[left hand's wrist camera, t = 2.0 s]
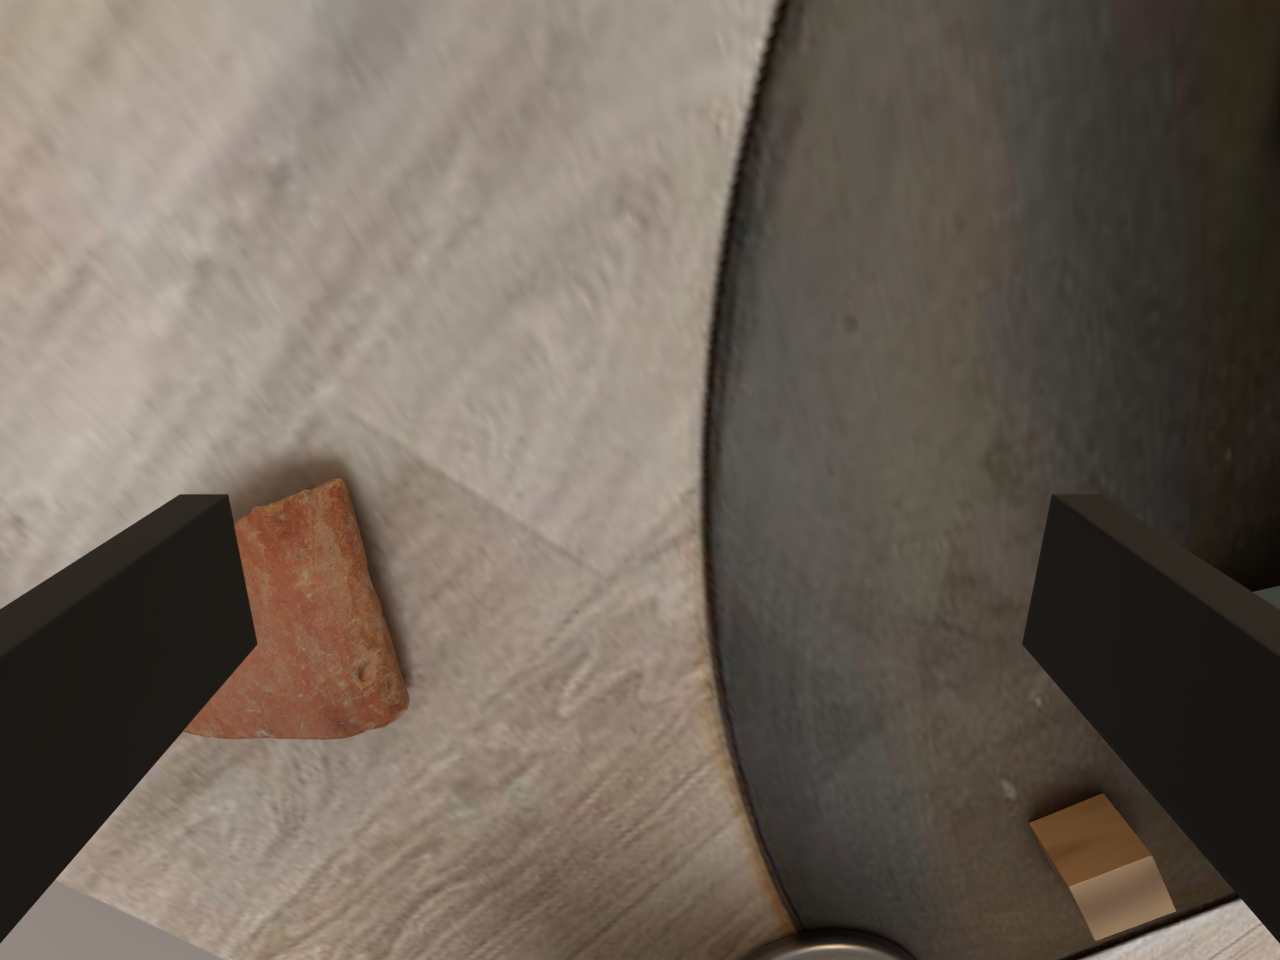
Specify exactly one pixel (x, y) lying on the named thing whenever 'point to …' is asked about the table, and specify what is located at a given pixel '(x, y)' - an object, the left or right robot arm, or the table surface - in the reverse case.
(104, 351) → the table surface
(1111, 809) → the block
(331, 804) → the table surface
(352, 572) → the ceramic shard
